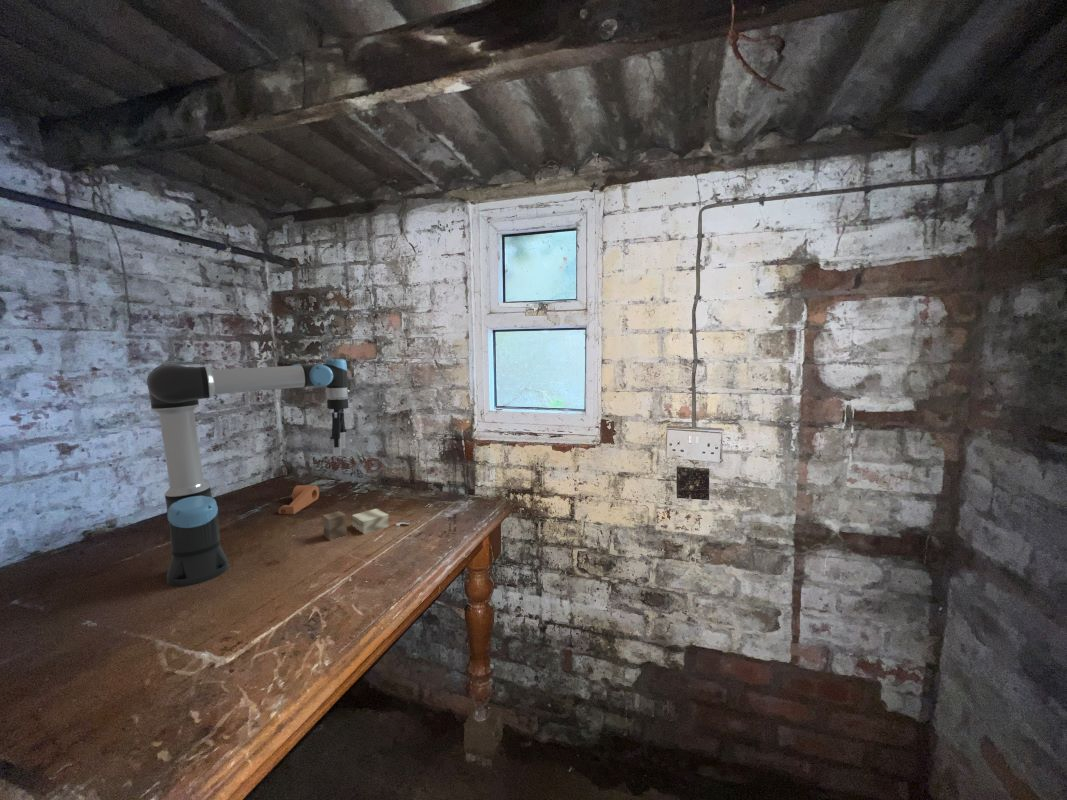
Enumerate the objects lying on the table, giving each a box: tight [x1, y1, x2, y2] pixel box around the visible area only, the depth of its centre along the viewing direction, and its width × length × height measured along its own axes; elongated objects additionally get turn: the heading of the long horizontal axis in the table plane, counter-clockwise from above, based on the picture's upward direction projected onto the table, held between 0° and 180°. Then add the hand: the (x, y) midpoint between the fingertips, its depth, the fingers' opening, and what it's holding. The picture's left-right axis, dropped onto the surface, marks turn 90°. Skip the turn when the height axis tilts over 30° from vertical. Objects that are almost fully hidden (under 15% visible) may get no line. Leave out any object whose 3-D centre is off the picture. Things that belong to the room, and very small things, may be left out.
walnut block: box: [322, 510, 348, 541], centre depth 158 cm, size 6×6×8 cm
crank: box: [277, 484, 320, 515], centre depth 189 cm, size 20×8×8 cm, turn 178°
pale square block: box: [351, 508, 390, 535], centre depth 167 cm, size 10×10×5 cm
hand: (339, 451), depth 170 cm, fingers open, 13 cm apart
